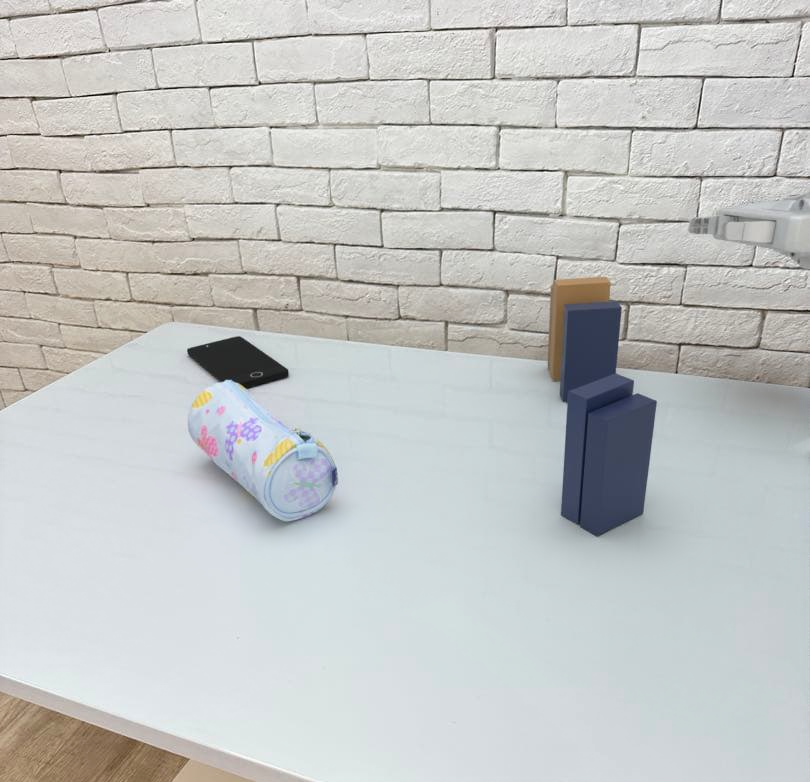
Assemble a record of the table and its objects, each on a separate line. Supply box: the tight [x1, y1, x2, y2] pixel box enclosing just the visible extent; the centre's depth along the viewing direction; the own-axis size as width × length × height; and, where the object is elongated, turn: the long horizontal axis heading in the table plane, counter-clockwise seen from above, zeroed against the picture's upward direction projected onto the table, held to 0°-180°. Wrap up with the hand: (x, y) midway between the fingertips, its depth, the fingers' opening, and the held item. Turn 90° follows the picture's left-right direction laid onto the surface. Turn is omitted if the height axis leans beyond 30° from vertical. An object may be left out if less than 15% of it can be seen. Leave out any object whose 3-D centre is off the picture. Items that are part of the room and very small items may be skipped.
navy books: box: [560, 372, 658, 537], centre depth 83 cm, size 7×5×14 cm
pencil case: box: [187, 380, 339, 522], centre depth 93 cm, size 21×9×10 cm, turn 35°
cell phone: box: [186, 335, 290, 389], centre depth 125 cm, size 9×18×1 cm, turn 32°
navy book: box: [559, 300, 623, 403], centre depth 107 cm, size 6×2×12 cm, turn 92°
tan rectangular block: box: [546, 276, 612, 380], centre depth 113 cm, size 7×5×13 cm
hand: (706, 228), depth 96 cm, fingers open, 8 cm apart
